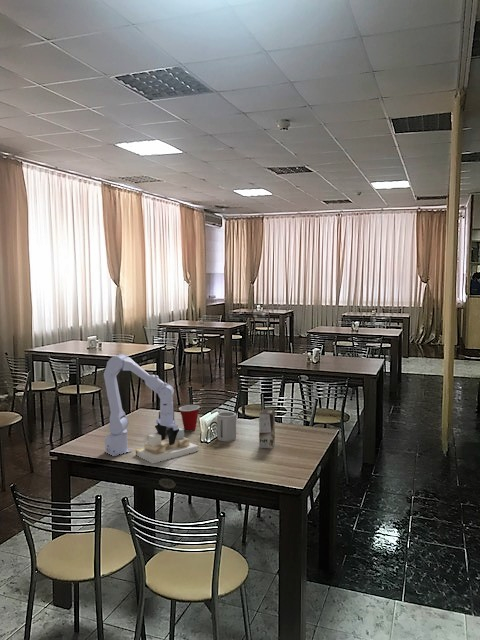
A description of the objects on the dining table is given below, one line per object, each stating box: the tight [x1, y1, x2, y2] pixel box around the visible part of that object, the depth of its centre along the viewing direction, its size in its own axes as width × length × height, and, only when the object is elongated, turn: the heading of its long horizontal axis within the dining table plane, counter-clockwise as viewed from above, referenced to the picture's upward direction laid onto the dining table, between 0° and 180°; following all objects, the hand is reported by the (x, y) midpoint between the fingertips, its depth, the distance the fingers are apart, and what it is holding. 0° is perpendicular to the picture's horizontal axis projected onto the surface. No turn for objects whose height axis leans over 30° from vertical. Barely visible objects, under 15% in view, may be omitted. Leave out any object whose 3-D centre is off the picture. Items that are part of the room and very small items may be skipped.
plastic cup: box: [178, 404, 200, 431], centre depth 270 cm, size 11×11×12 cm
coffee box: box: [258, 408, 276, 449], centre depth 244 cm, size 9×6×16 cm
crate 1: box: [147, 433, 161, 446], centre depth 230 cm, size 4×4×4 cm
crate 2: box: [176, 427, 185, 440], centre depth 238 cm, size 4×4×4 cm
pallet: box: [143, 436, 190, 455], centre depth 234 cm, size 18×9×3 cm, turn 132°
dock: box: [135, 441, 199, 464], centre depth 234 cm, size 24×14×2 cm, turn 132°
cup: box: [216, 411, 237, 442], centre depth 256 cm, size 9×9×12 cm
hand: (167, 442), depth 234 cm, fingers open, 7 cm apart
